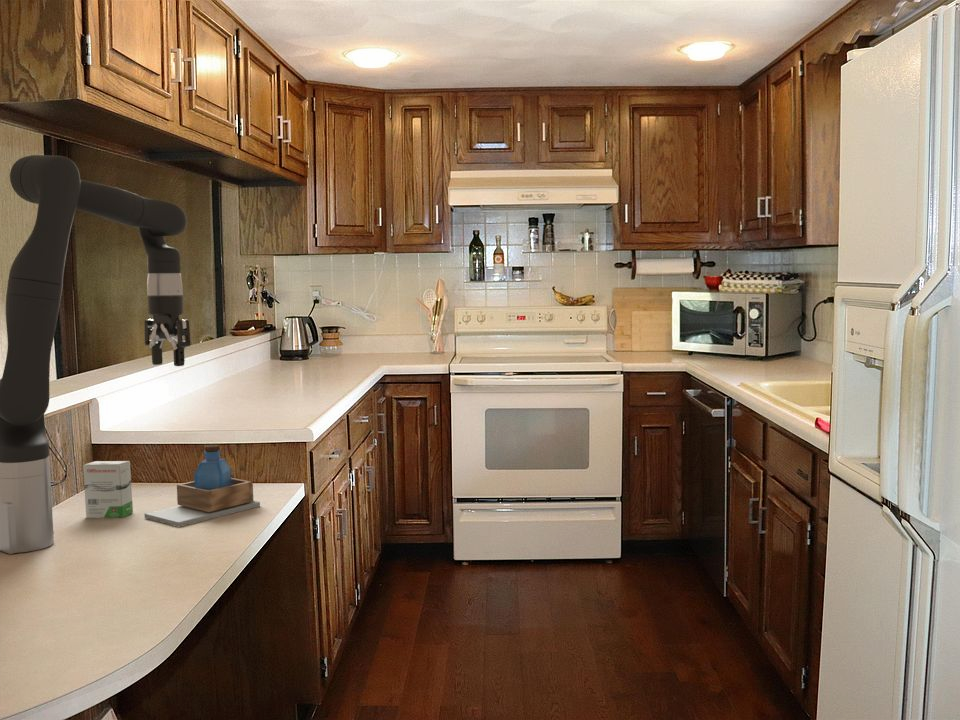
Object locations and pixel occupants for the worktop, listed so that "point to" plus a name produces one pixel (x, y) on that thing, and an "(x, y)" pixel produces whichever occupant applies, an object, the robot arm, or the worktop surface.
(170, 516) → the backstop board
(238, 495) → the box
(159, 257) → the robot arm
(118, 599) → the worktop surface
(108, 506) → the ink box
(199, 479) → the perfume bottle
